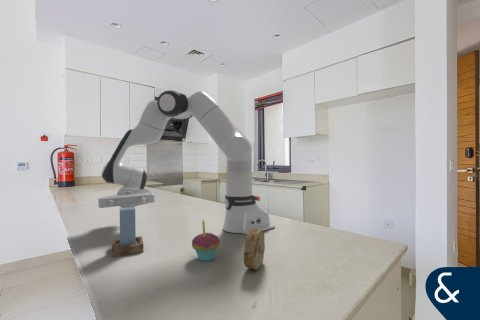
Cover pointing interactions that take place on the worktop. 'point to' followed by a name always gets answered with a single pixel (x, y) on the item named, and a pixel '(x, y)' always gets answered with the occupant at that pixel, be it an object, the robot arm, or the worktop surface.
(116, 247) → the walnut base
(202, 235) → the cupcake
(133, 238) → the slate block
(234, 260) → the worktop surface
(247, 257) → the bagel
